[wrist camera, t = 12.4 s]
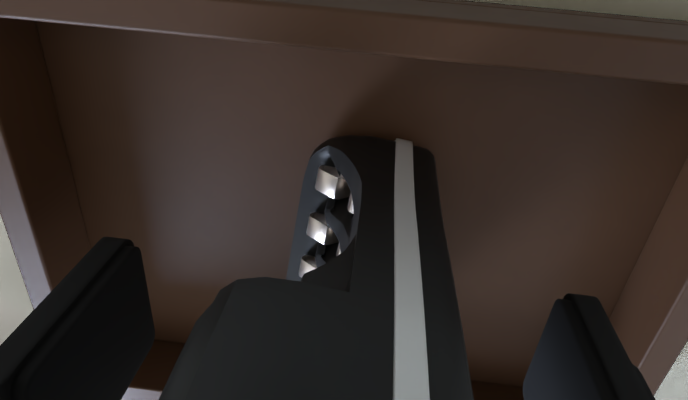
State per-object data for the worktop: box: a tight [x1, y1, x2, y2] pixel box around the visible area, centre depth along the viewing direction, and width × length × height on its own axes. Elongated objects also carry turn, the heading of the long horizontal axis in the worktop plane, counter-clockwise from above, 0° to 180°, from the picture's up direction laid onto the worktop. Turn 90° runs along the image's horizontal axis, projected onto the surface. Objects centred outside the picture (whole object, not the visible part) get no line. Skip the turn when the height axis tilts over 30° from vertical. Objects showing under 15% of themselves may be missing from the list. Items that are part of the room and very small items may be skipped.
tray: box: [0, 0, 688, 400], centre depth 13 cm, size 18×13×3 cm
